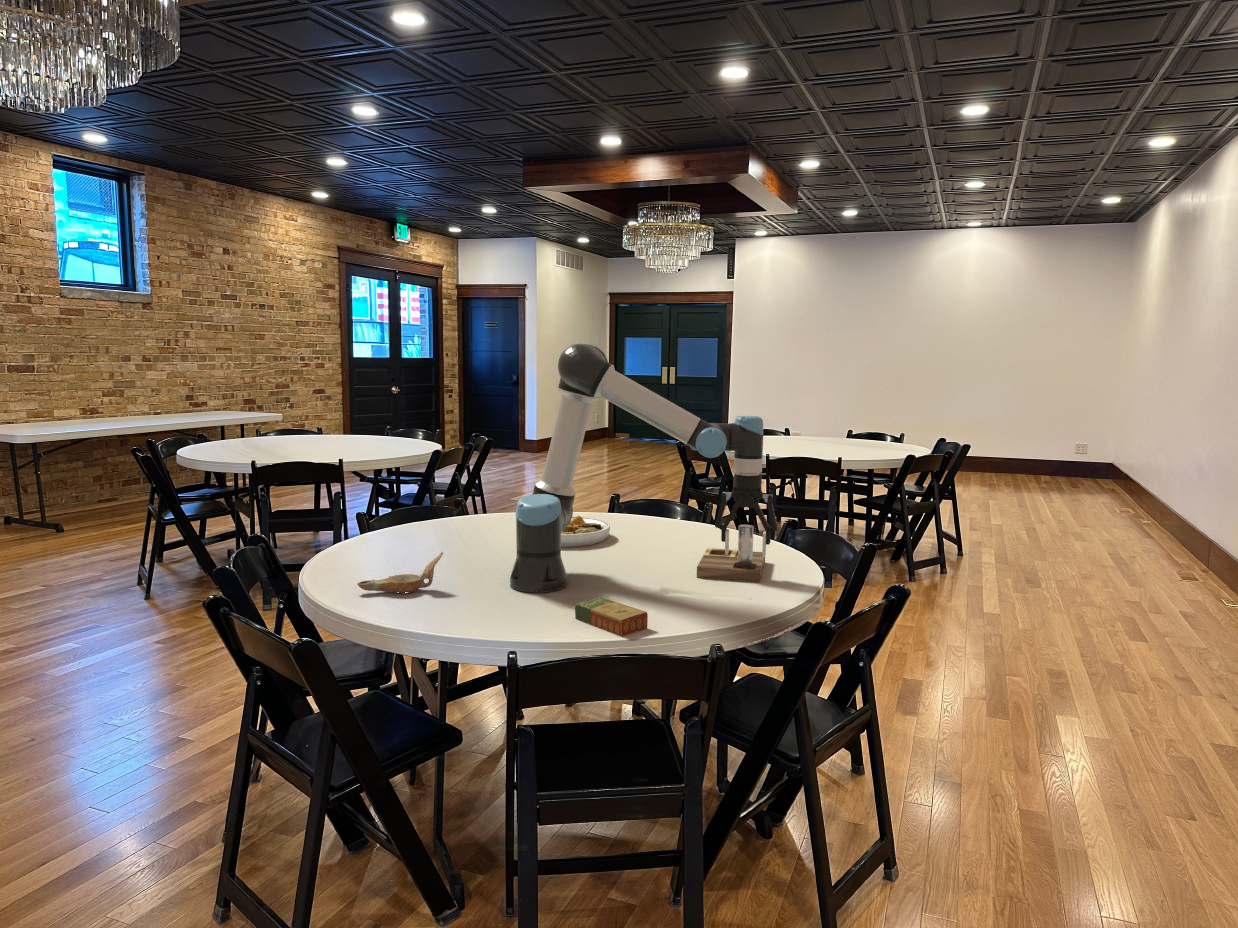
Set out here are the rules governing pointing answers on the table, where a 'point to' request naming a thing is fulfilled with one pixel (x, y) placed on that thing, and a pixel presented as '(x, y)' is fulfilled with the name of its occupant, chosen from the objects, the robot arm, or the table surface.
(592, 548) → the table surface
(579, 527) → the bowl
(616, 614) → the carton
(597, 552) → the table surface
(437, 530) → the table surface
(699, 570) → the socket board
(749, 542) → the steel pin
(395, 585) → the oil lamp
